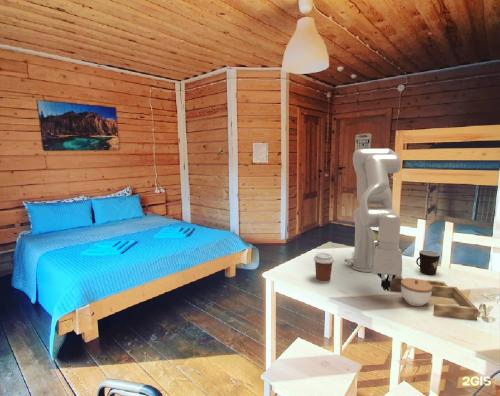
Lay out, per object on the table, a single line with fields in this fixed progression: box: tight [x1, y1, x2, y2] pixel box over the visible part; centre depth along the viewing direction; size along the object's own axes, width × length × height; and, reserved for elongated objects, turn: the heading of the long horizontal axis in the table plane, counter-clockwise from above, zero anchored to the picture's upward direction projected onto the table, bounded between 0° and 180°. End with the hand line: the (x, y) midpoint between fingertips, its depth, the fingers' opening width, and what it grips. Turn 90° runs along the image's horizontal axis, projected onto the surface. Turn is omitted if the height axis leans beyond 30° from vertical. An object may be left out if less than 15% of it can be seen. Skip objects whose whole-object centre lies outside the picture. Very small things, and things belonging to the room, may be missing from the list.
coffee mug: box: [415, 249, 441, 276], centre depth 141 cm, size 12×9×10 cm
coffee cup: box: [313, 252, 335, 284], centre depth 134 cm, size 9×9×12 cm
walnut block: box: [388, 275, 404, 293], centre depth 124 cm, size 4×4×6 cm
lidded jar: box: [400, 277, 433, 307], centre depth 113 cm, size 11×11×9 cm
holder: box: [422, 279, 479, 321], centre depth 115 cm, size 13×26×4 cm, turn 166°
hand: (385, 288), depth 116 cm, fingers closed
